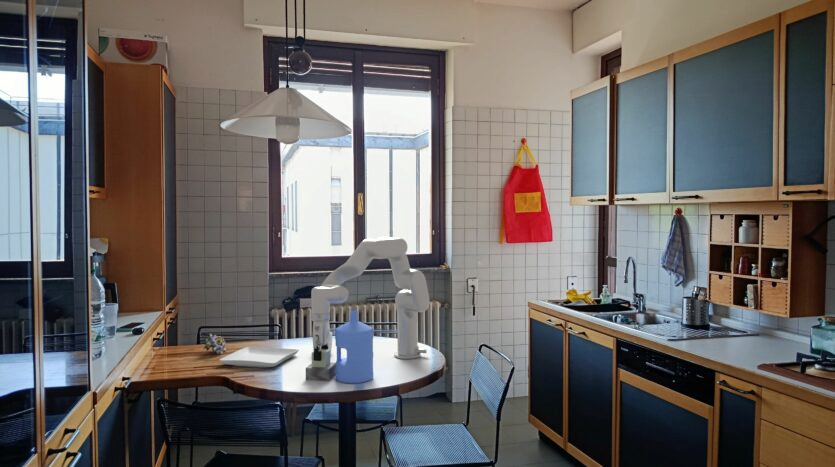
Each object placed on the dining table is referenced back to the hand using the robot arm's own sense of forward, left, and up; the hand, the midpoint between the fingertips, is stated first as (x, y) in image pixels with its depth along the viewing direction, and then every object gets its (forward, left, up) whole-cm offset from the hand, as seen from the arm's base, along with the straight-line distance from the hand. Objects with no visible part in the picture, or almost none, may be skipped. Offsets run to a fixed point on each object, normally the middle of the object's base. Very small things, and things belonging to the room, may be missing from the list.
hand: (321, 357), depth 245 cm
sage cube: (0, 0, -3) cm, 3 cm away
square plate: (+36, -22, -9) cm, 43 cm away
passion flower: (+64, -32, -8) cm, 72 cm away
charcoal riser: (0, 0, -8) cm, 8 cm away
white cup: (+11, -40, -8) cm, 42 cm away
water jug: (-14, 0, -8) cm, 16 cm away
